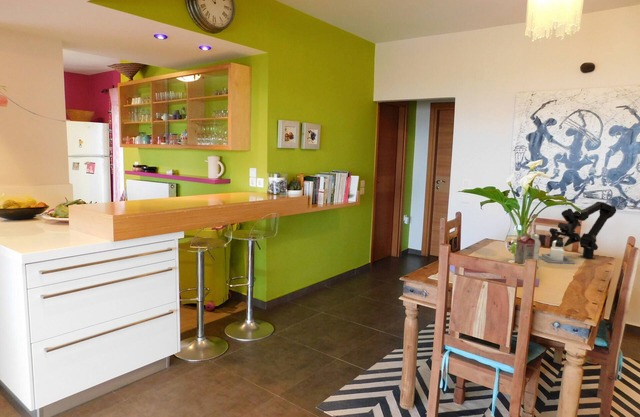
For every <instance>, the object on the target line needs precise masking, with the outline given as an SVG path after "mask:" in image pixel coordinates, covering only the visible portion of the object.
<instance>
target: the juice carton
mask: <svg viewBox="0 0 640 417" xmlns="http://www.w3.org/2000/svg"><path fill="white" fill-rule="evenodd" d="M515 245H516V246H515V255H514V256H515V257H514V263H518V264H524V263H525V260H526V259H533V256H534V247H535V240H534V239H532V235H531V234H528V233H527V232H526V233H525V232H522V233H521V235H520V236H519V237H517V238H516V244H515Z"/></svg>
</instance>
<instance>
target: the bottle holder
mask: <svg viewBox="0 0 640 417" xmlns="http://www.w3.org/2000/svg"><path fill="white" fill-rule="evenodd" d="M539 259H540V260H542V261H544V262H546V263H548V264H563V265H575V262H574V261H571V258H569V257H567V256H565V255H564V257H563V261H556V260H552V259H553V258H551V257H550V253H541V255H539Z"/></svg>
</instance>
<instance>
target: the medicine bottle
mask: <svg viewBox="0 0 640 417" xmlns="http://www.w3.org/2000/svg"><path fill="white" fill-rule="evenodd" d="M551 245H552V246H551V247H550V250H549V251H550V252H549V254H550V257H551V258H553V259H552V260H556V261H563V257H564V256H565V255H564V254H565V249H564V245H565V243H564V241H561V240H555V241H553V243H551Z"/></svg>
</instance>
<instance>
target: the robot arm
mask: <svg viewBox="0 0 640 417" xmlns="http://www.w3.org/2000/svg"><path fill="white" fill-rule="evenodd" d="M579 210H580V211H581V214H580V213H579V212H578V211H577V210H575V211H573V209H572V208H567V209H565V210H563V211H562V212H561V217H562V218H563V219H564V221H565V222H567V223H565V222H558V225H557V228H554V227H553V228H552V227H550V229H549V230H548V231H549V233H550V235H551V240H550V244H553V241H557V239H558V237H559V236H564V237H566V238H567V240H566V241H565V243H564V244H563V247H567V246H570V245H572V244H574V243H579V245H580V248H582V254H580V256H579V257H582V258H584V259H590V260H591V259H592V260H593V259H594V260H596V257H594V251H597V250H598V248H599V246H598V244H597V236H598V234H599V233H600V232H601V230H602V228H603V227H604V225H605V224H606V222H607V221H608V219H610V218H612V217H613V216H614V215H616V212H617V208H616V207H615V206H614V205H611V204H608V203H606V202H604V201H596V202H595V203H593V204H592V205H589V206H588V207H586V208H584V209H579ZM596 212H598V213H599V216H598V218H597V219H596V220H595V222H594V224H593V225H592V227H591V228H590V230H589V231H588V232H587V233H585V232H584V233H583V234H582V235H581V236H580V233H579V232H576V228H577V227H581V226H582V225H581V221H582V222H585V221H586V220H587V219H588V218H589V216H590V215H592V214H595V213H596ZM558 229H559V230H558Z"/></svg>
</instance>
